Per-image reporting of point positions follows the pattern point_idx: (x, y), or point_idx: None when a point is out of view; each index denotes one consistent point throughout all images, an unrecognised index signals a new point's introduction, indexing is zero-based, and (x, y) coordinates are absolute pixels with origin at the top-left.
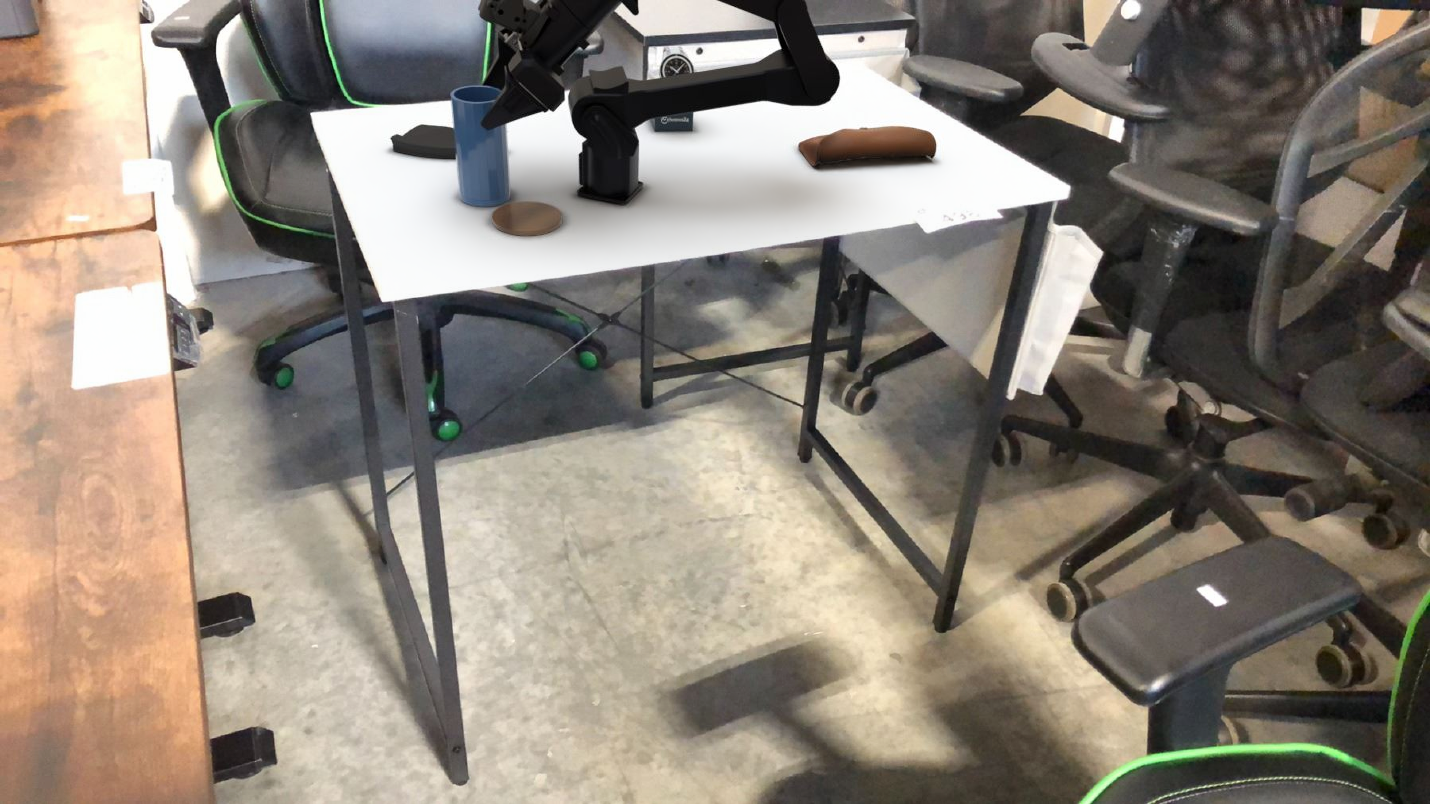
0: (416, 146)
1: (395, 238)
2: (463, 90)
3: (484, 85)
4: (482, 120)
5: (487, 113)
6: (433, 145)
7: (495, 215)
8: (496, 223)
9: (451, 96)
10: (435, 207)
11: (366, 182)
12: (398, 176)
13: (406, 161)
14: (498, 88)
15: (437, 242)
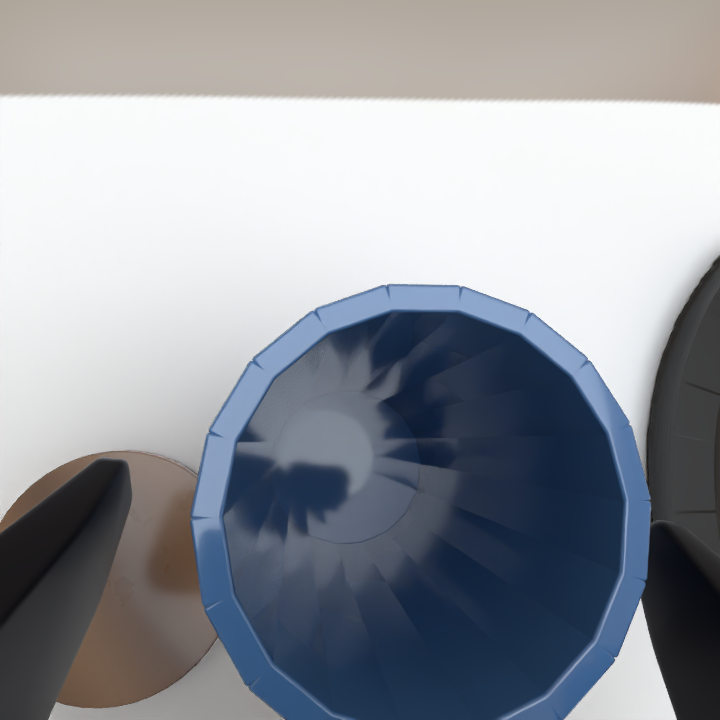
0: (706, 304)
1: (118, 160)
2: (582, 414)
3: (717, 609)
4: (90, 474)
5: (29, 523)
6: (701, 355)
7: (146, 466)
8: (84, 458)
9: (409, 285)
10: (300, 301)
11: (514, 148)
12: (542, 236)
13: (647, 275)
14: (705, 716)
15: (51, 264)
